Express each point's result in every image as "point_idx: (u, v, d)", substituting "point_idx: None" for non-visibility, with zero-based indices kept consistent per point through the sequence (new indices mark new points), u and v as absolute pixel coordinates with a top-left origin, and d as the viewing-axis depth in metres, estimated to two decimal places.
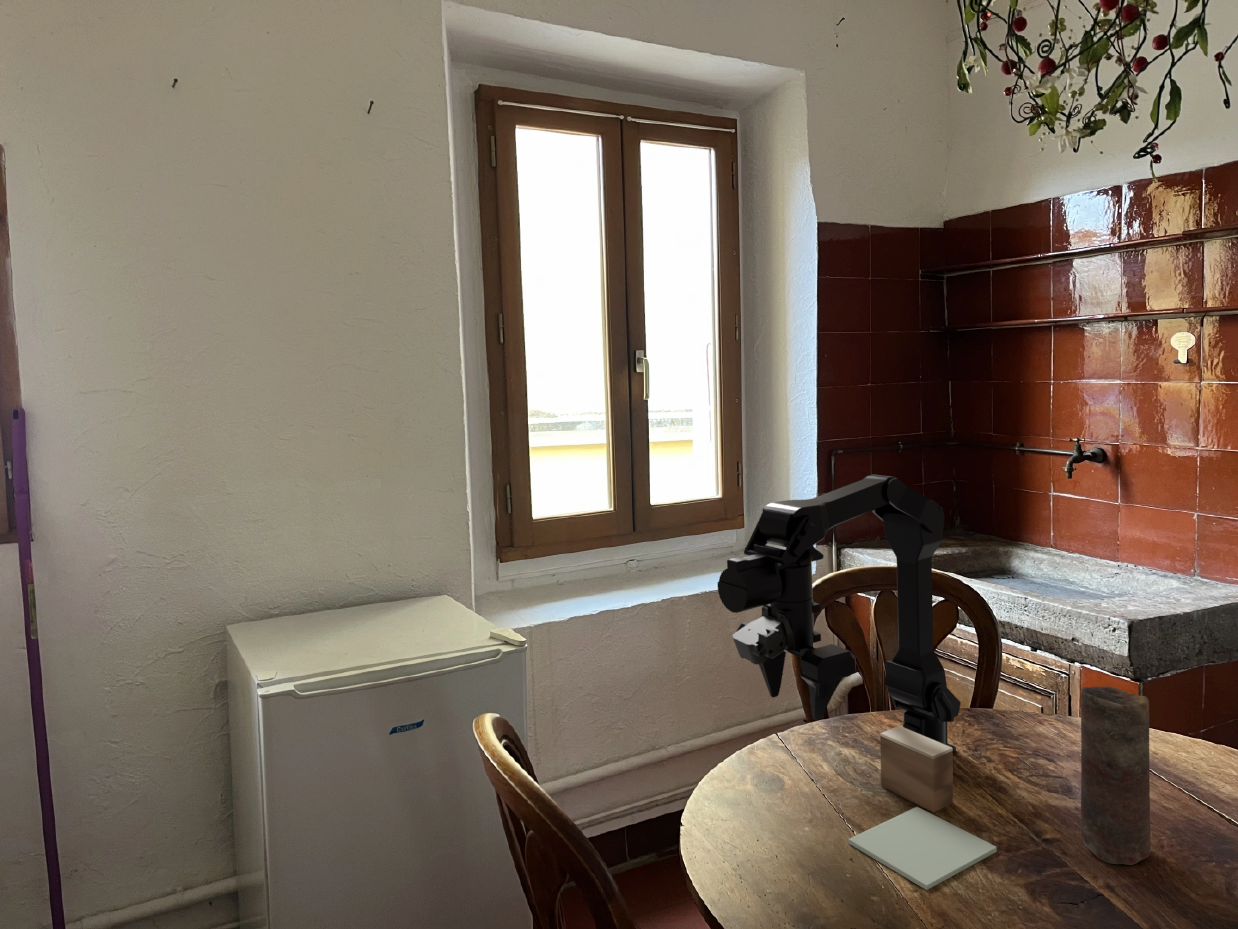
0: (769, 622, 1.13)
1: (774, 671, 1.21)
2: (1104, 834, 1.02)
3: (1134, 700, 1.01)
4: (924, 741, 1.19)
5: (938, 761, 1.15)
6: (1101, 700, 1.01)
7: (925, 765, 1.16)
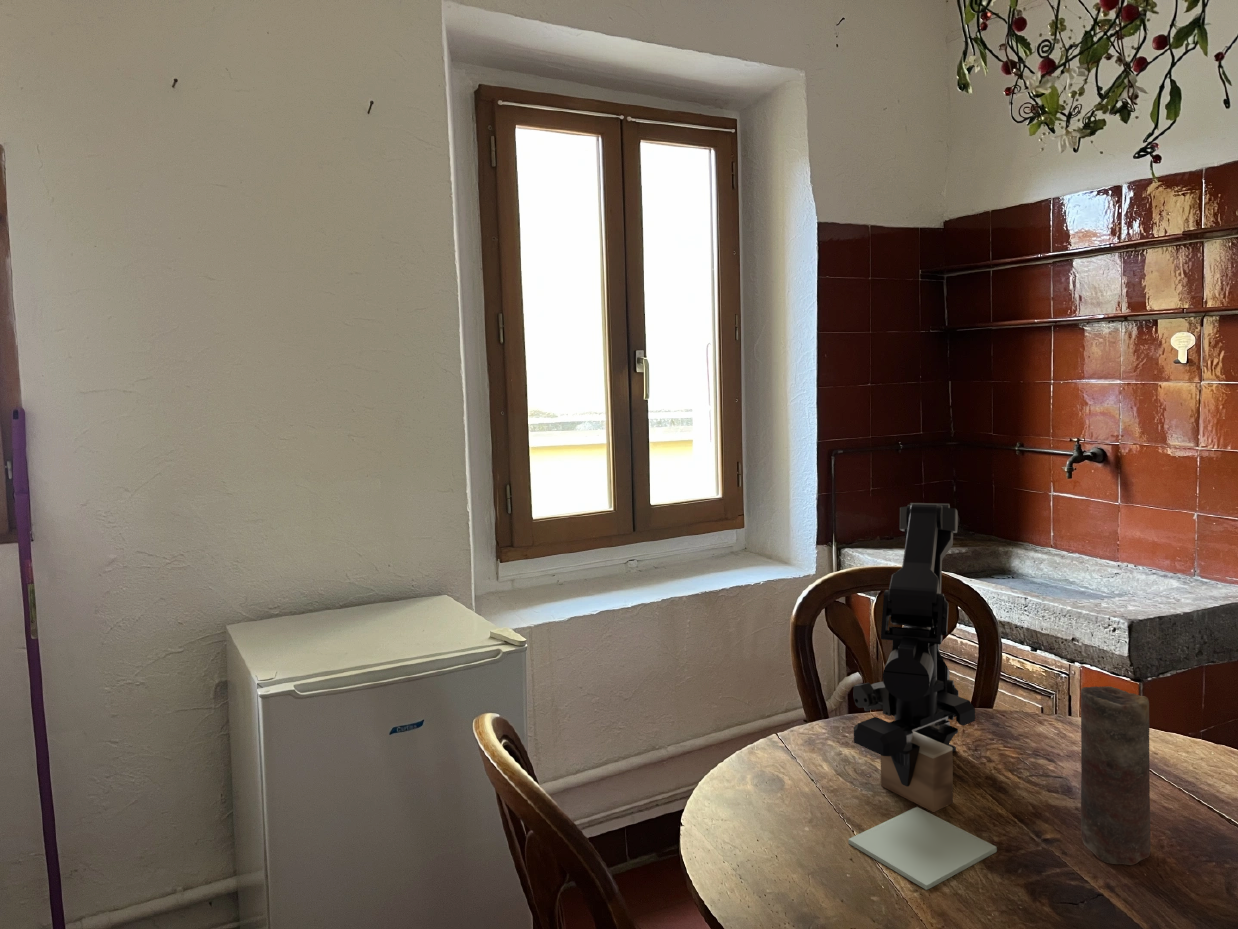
0: None
1: None
2: (1104, 834, 1.02)
3: (1134, 700, 1.01)
4: (924, 741, 1.19)
5: (938, 761, 1.15)
6: (1101, 700, 1.01)
7: (925, 765, 1.16)
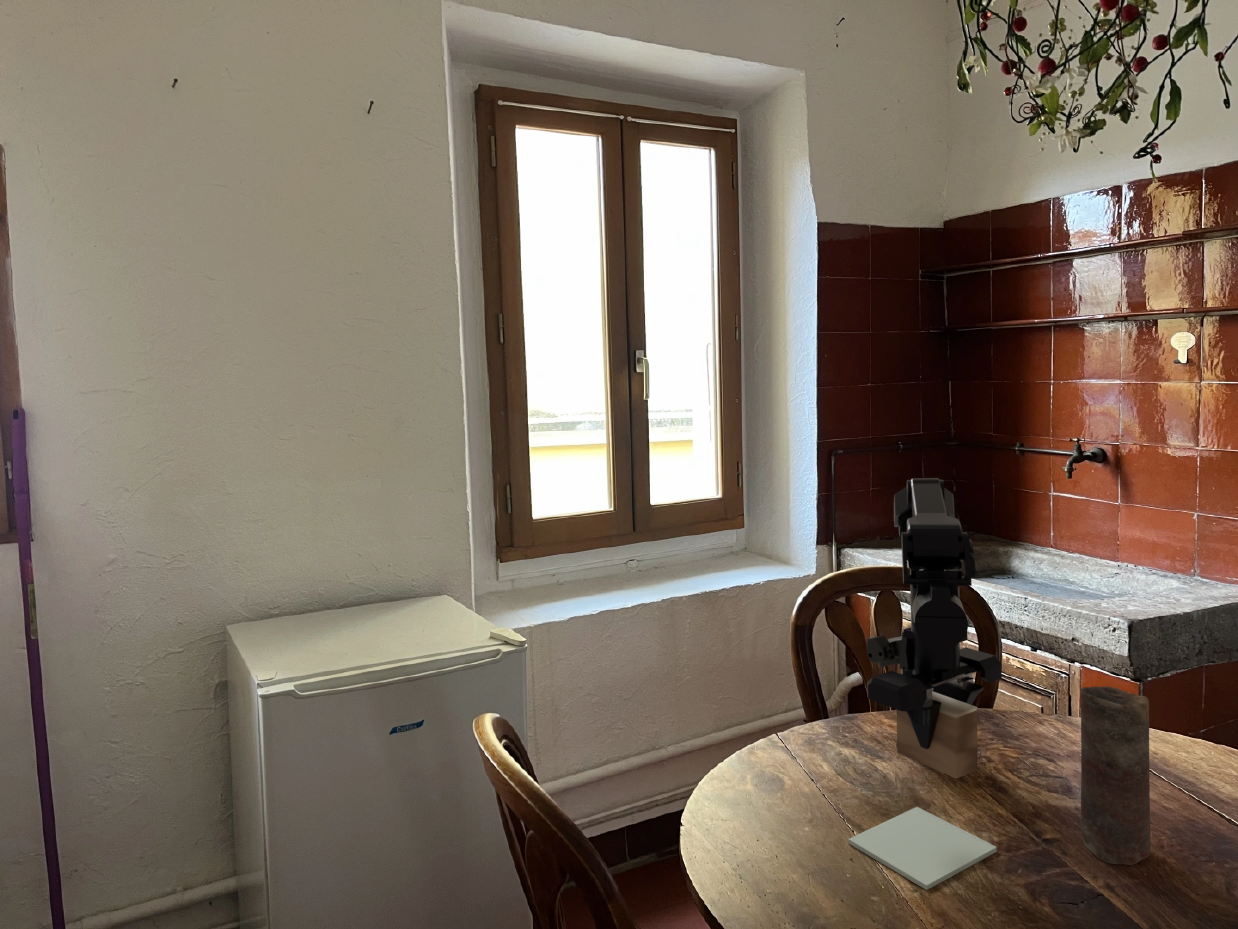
0: None
1: None
2: (1104, 834, 1.02)
3: (1134, 700, 1.01)
4: (945, 700, 1.07)
5: (961, 721, 1.04)
6: (1101, 700, 1.01)
7: (947, 725, 1.04)
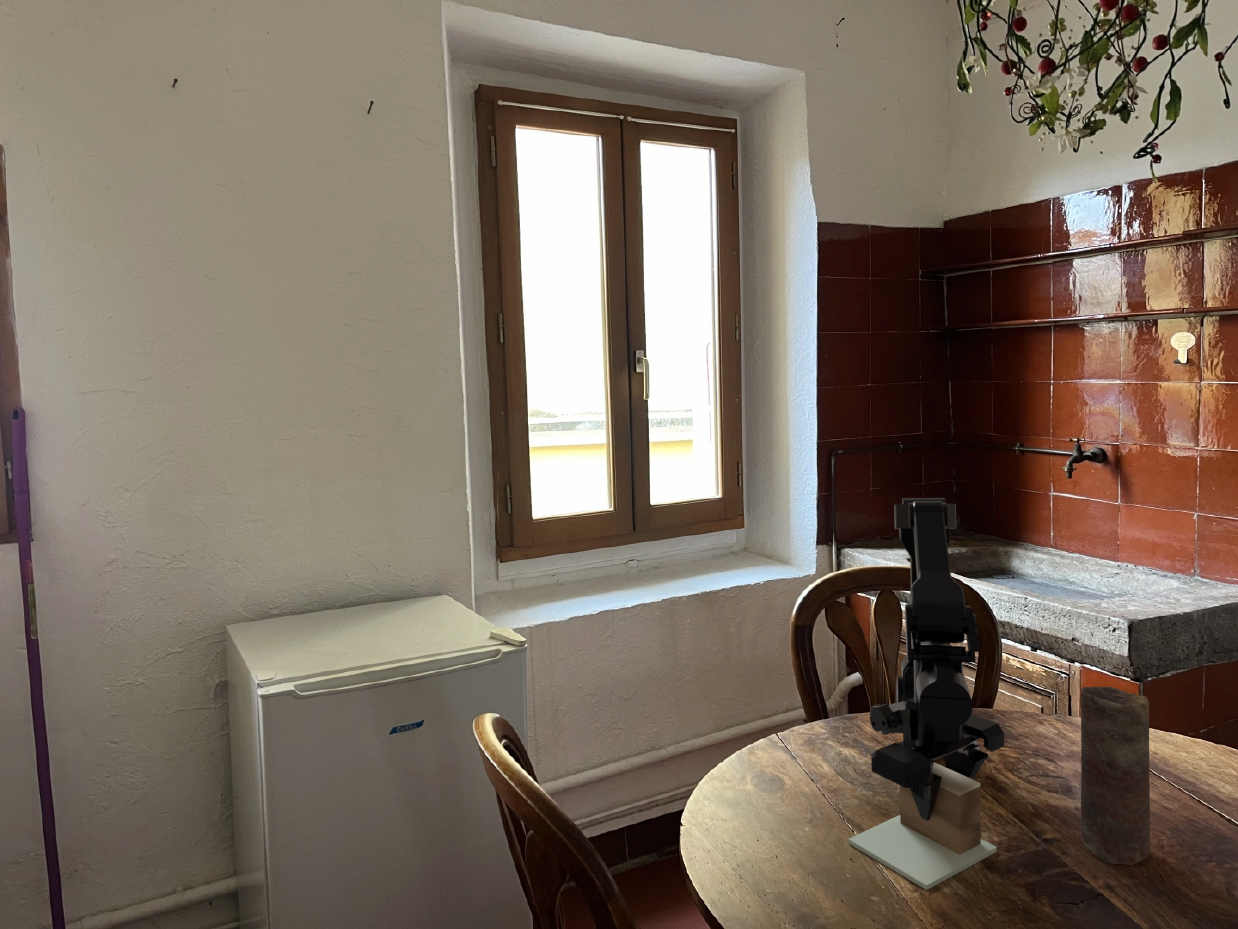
0: None
1: None
2: (1104, 834, 1.02)
3: (1134, 700, 1.01)
4: (948, 775, 1.08)
5: (964, 798, 1.04)
6: (1101, 700, 1.01)
7: (950, 802, 1.05)
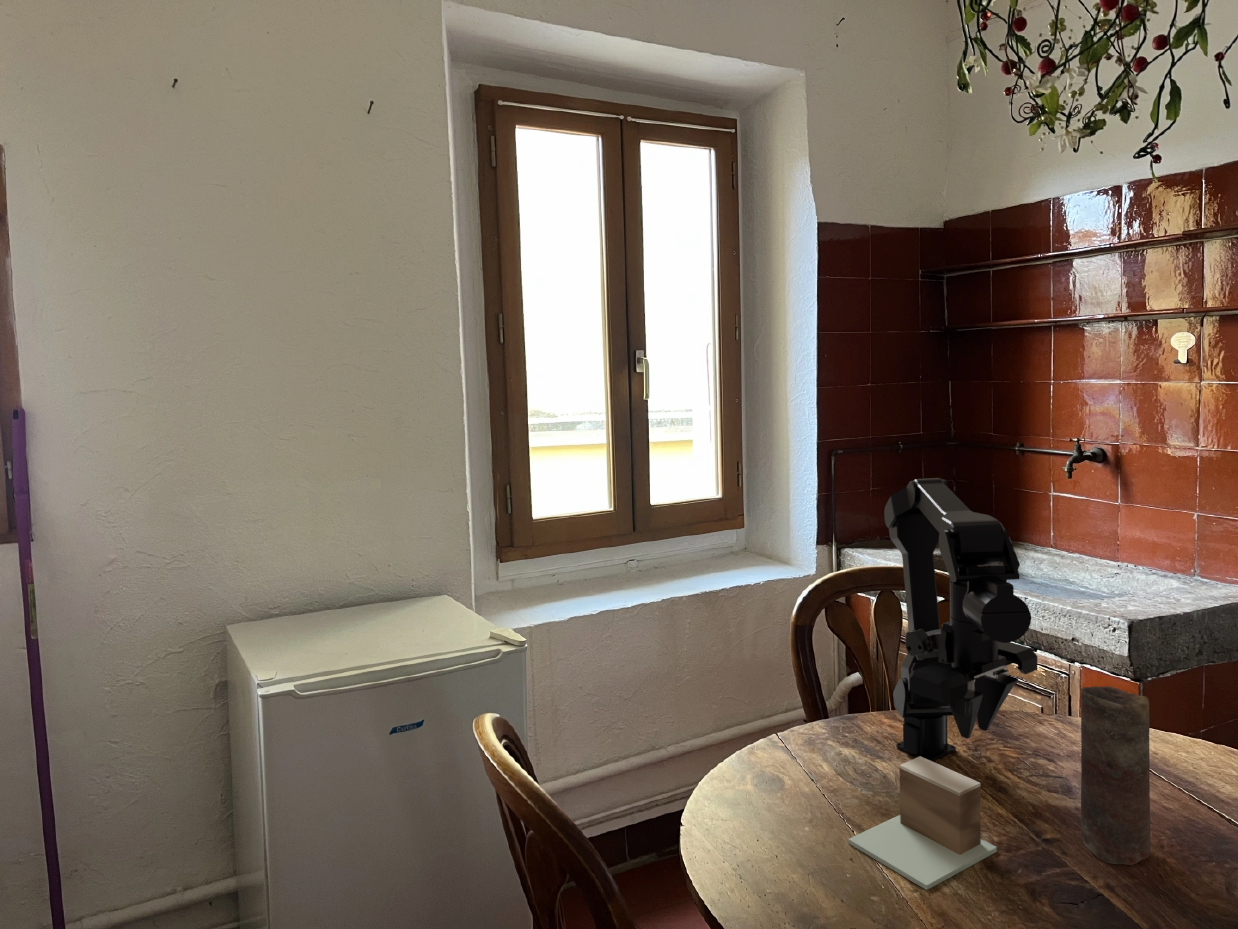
0: None
1: (985, 703, 1.12)
2: (1104, 834, 1.02)
3: (1134, 700, 1.01)
4: (948, 775, 1.08)
5: (964, 798, 1.04)
6: (1101, 700, 1.01)
7: (950, 802, 1.05)
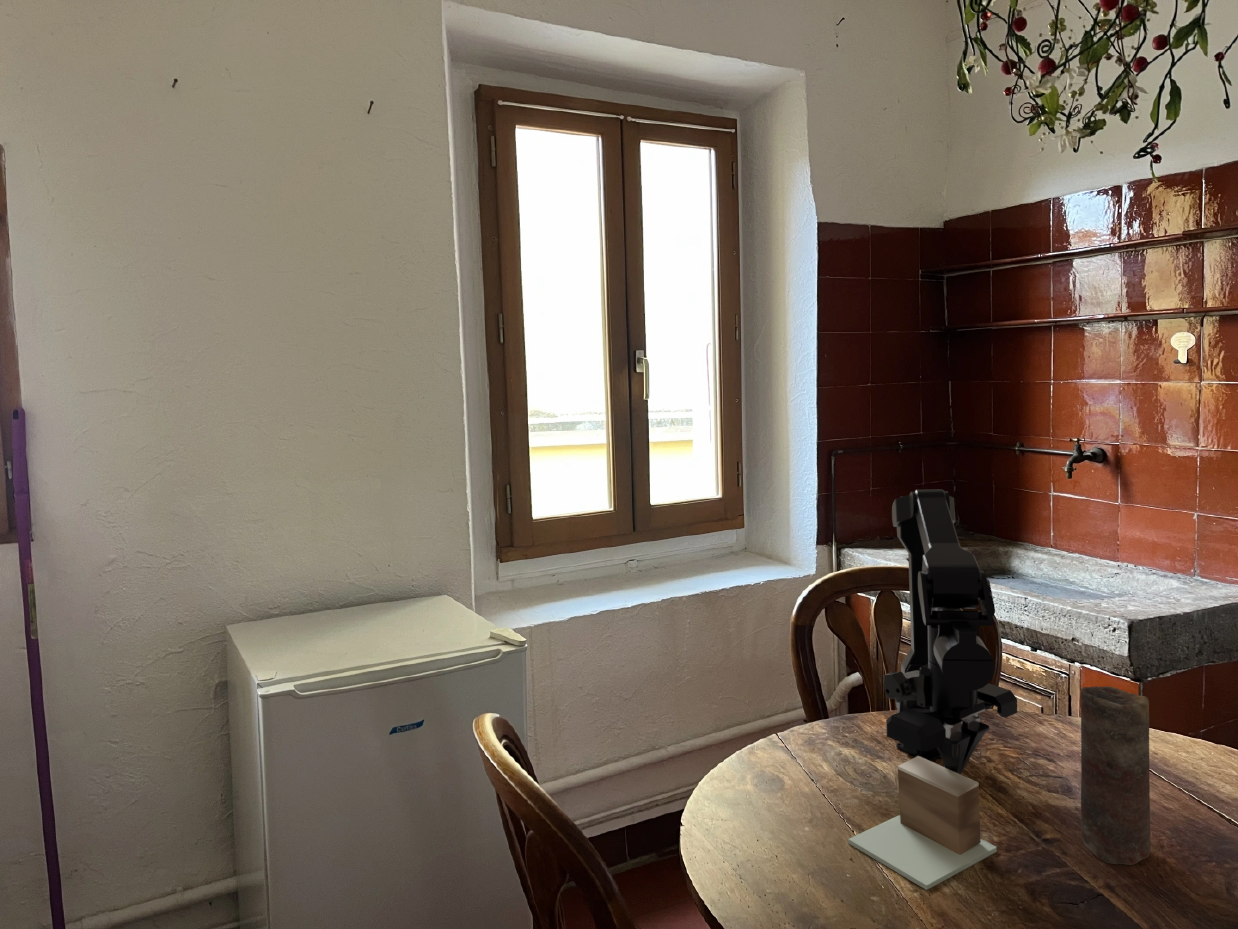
0: None
1: None
2: (1104, 834, 1.02)
3: (1134, 700, 1.01)
4: (946, 775, 1.08)
5: (963, 799, 1.04)
6: (1101, 700, 1.01)
7: (949, 803, 1.05)
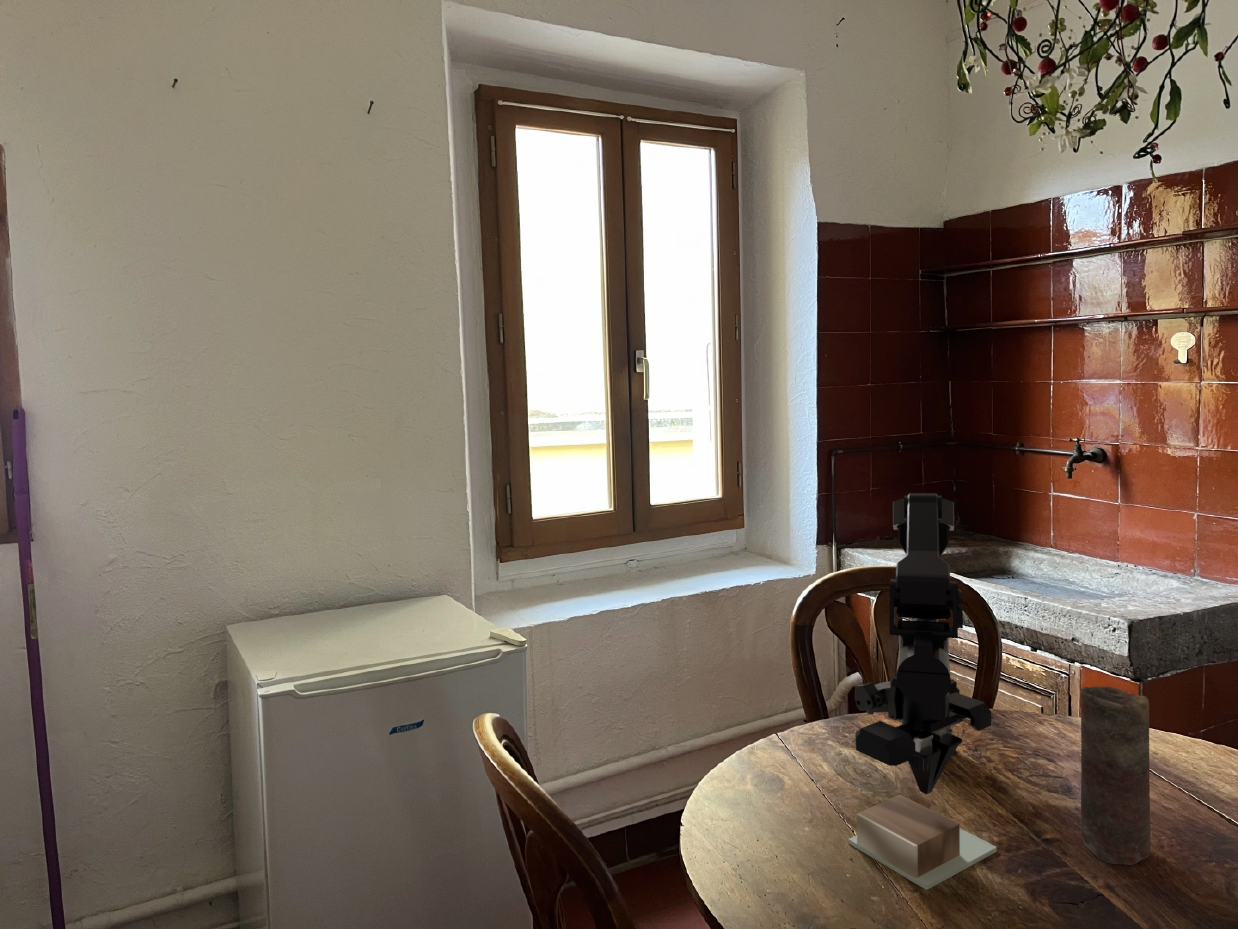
0: None
1: None
2: (1104, 834, 1.02)
3: (1134, 700, 1.01)
4: (891, 844, 1.03)
5: (921, 867, 1.01)
6: (1101, 700, 1.01)
7: None
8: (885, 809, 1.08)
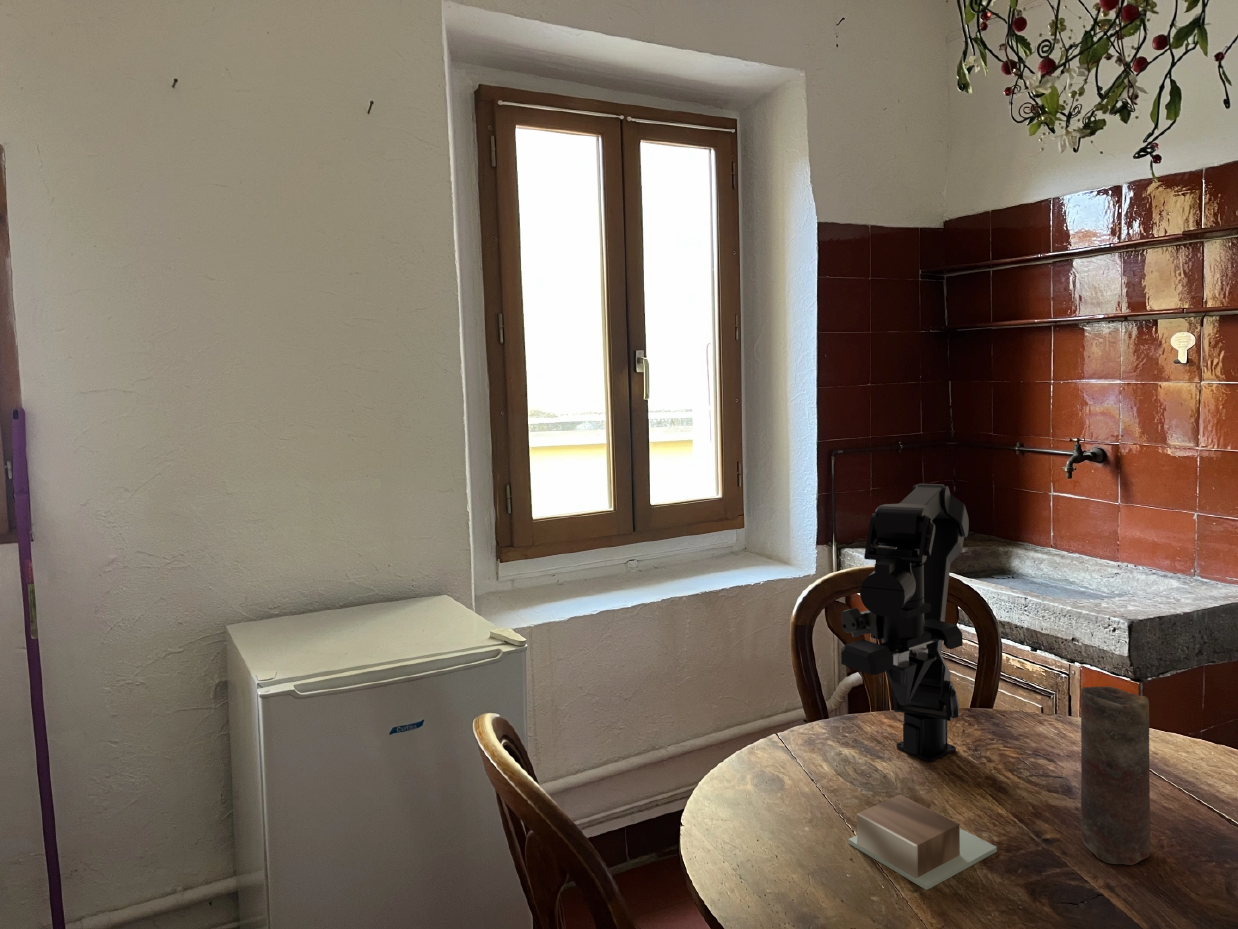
0: None
1: None
2: (1104, 834, 1.02)
3: (1134, 700, 1.01)
4: (891, 844, 1.03)
5: (921, 867, 1.01)
6: (1101, 700, 1.01)
7: None
8: (885, 809, 1.08)
